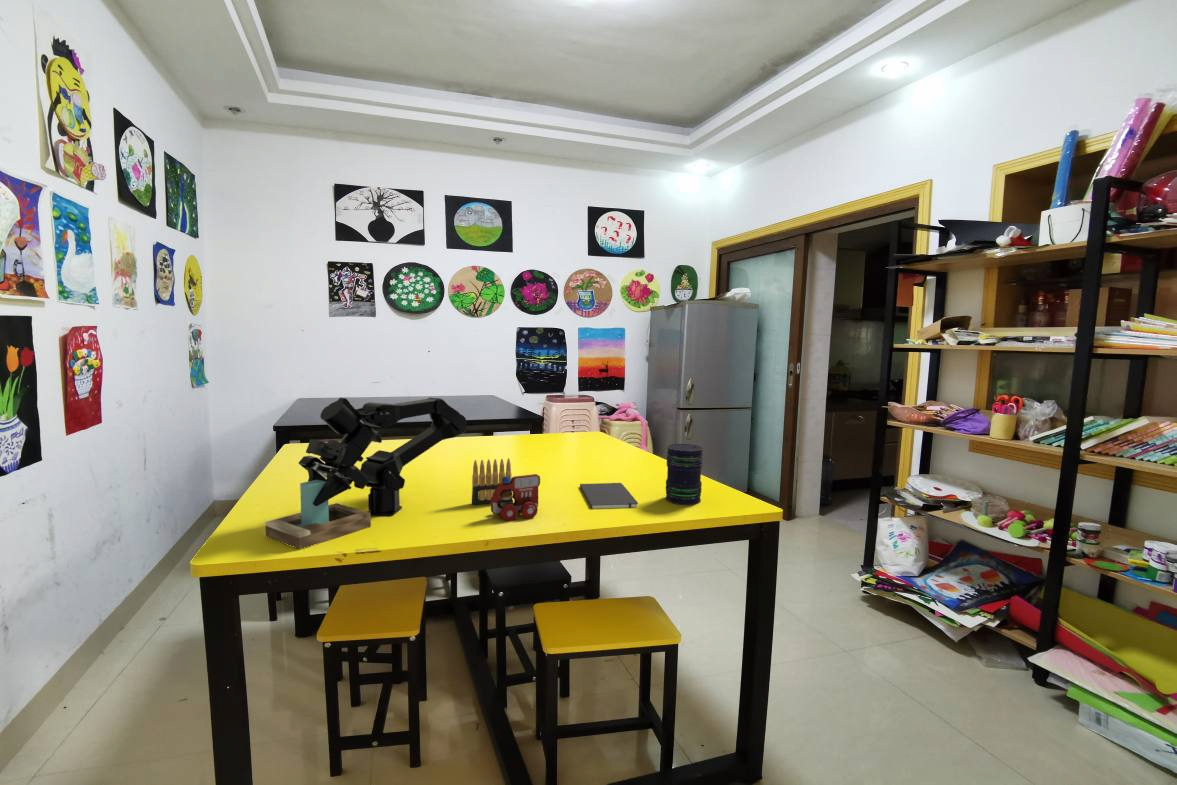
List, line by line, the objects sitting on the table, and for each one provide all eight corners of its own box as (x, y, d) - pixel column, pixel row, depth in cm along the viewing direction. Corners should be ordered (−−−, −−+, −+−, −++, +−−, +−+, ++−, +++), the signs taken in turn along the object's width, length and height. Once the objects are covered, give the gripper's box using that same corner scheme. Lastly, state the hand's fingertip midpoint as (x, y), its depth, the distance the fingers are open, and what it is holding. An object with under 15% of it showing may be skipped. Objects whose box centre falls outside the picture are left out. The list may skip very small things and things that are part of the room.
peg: (320, 523, 129) (319, 477, 128) (339, 529, 125) (338, 481, 124) (291, 532, 123) (289, 483, 122) (309, 538, 119) (308, 488, 118)
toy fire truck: (487, 514, 139) (487, 474, 138) (534, 509, 144) (535, 470, 143) (494, 523, 133) (494, 480, 132) (543, 517, 138) (543, 476, 137)
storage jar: (668, 505, 150) (670, 450, 148) (662, 494, 160) (664, 443, 158) (705, 505, 150) (707, 451, 149) (696, 495, 160) (698, 444, 158)
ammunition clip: (472, 505, 146) (472, 460, 145) (471, 503, 148) (471, 459, 147) (512, 502, 150) (512, 458, 148) (511, 500, 151) (511, 457, 150)
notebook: (579, 488, 166) (591, 510, 145) (579, 483, 166) (591, 505, 145) (621, 487, 168) (638, 509, 147) (621, 482, 168) (638, 503, 147)
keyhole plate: (336, 516, 136) (336, 503, 135) (370, 526, 129) (370, 512, 128) (265, 536, 121) (265, 522, 121) (299, 549, 114) (299, 534, 114)
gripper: (305, 421, 130) (258, 477, 122) (355, 429, 120) (307, 490, 112) (337, 449, 138) (294, 503, 129) (386, 459, 128) (343, 518, 119)
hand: (308, 503), depth 122 cm, fingers closed on peg, 4 cm apart
